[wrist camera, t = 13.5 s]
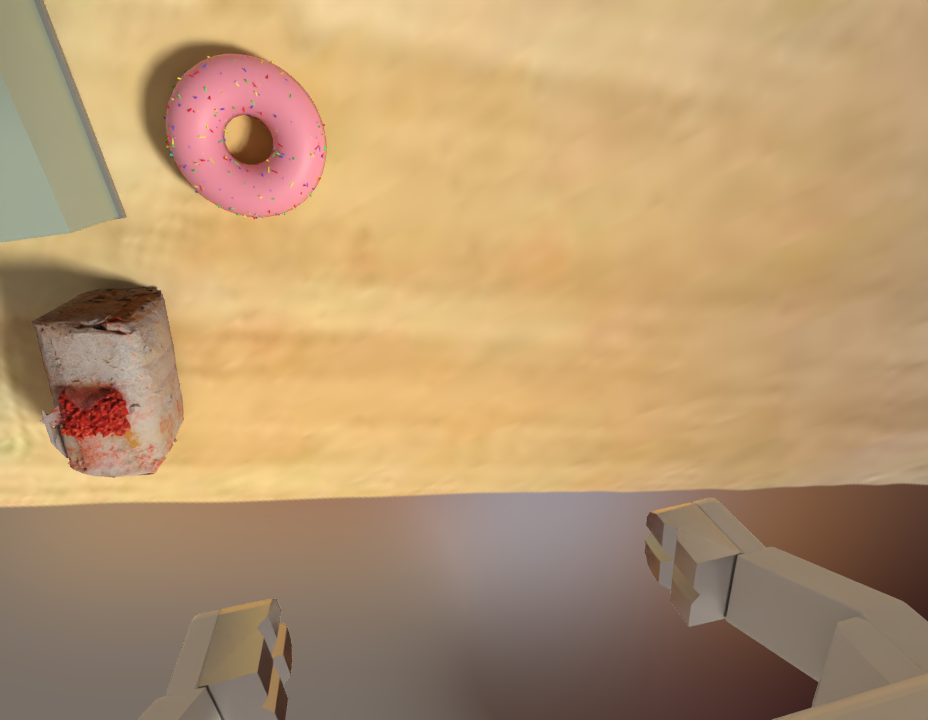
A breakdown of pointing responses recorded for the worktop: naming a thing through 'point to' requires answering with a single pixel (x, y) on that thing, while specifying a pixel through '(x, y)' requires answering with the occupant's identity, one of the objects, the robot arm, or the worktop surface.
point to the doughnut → (254, 94)
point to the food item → (111, 381)
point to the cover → (42, 138)
